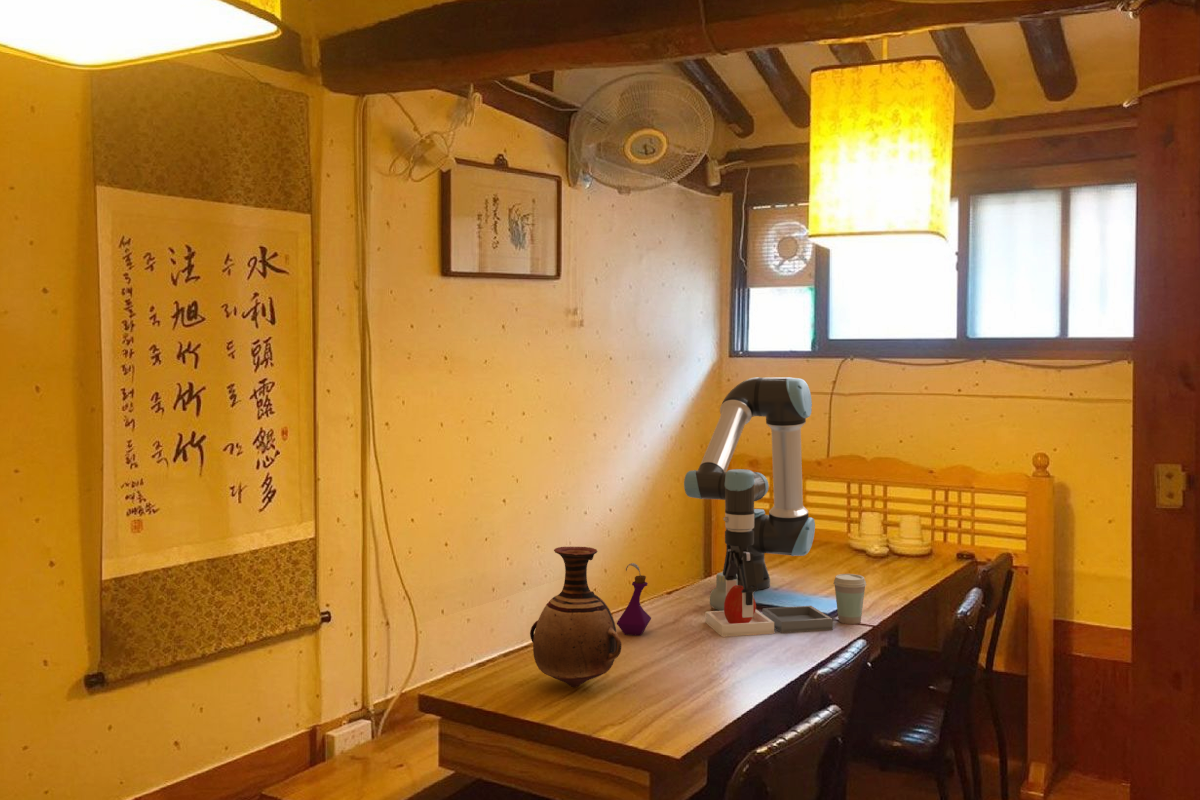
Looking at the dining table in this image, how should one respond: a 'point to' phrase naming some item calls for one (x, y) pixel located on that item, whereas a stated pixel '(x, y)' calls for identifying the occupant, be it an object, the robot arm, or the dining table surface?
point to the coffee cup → (849, 597)
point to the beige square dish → (739, 624)
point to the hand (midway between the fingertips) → (739, 610)
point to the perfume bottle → (635, 609)
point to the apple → (736, 606)
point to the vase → (575, 627)
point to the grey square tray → (798, 619)
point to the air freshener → (719, 592)
